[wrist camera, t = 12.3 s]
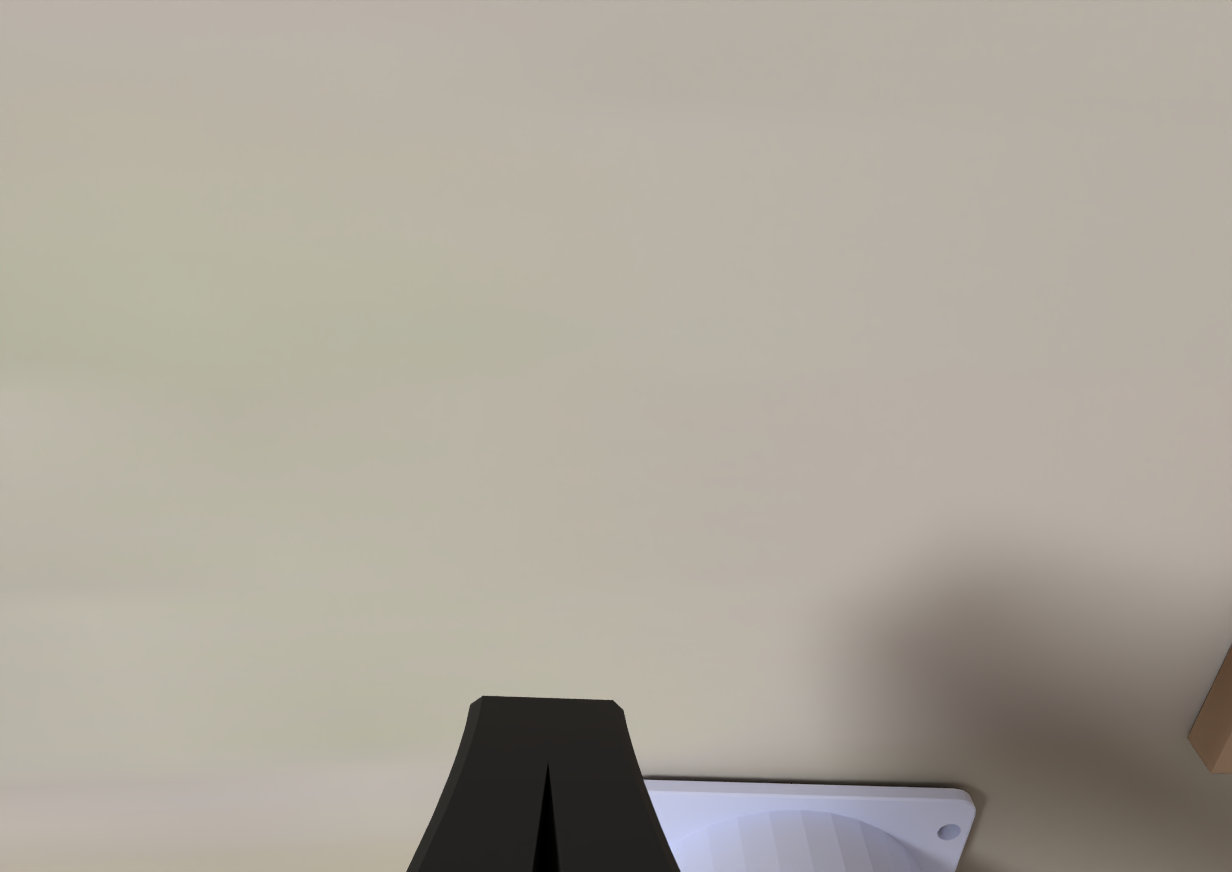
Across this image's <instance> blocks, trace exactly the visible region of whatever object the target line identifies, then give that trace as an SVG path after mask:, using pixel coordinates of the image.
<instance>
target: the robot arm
mask: <svg viewBox="0 0 1232 872" xmlns="http://www.w3.org/2000/svg"><path fill="white" fill-rule="evenodd" d="M975 815H976V808H975V806H974V804H973V801H972V799H971V797H970V795H969V794H968V793H967V792H965V791H963V790H960V789H954V788H921V787H886V786H850V785H815V784H779V783H744V782H708V781H673V780H643V777H642V774H641V771H640V768H639V765H638V762H637V759H636V756H635V753H634V750H633V746H632V743H631V739H630V736H629V732H628V728H627V724H626V720H625V715H624V711H623V709H622V708H621V707H620V706H618V705H617V704H616V703H615V702H614V701H613V700H591V699H561V698H532V697H502V696H482V697H481V698H479V699H478V700H476V701H475V702H473V703H472V704H471V705H470V708H469V713H468V717H467V722H466V726H465V730H464V733H463V736H462V740H461V743H460V746H459V749H458V752H457V755H456V758H455V761H454V764H453V766H452V769H451V772H450V774H449V777H448V780H447V782H446V785H445V787H444V789H443V792H442V794H441V797H440V799H439V802H438V804H437V806H436V809H435V811H434V814H433V816H432V818H431V821H430V823H429V825H428V827H427V829H426V831H425V833H424V835H423V838H422V840H421V842H420V844H419V846H418V848H417V850H416V852H415V855H414V857H413V859H412V861H411V863H410V865H409V867H408V869H407V871H406V872H955V871H956V868H957V865H958V862H959V860H960V857H961V854H962V851H963V849H964V846H965V843H966V840H967V838H968V835H969V832H970V829H971V827H972V824H973V821H974V818H975Z"/></svg>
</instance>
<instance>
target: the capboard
mask: <svg viewBox="0 0 1232 872" xmlns="http://www.w3.org/2000/svg"><path fill="white" fill-rule="evenodd" d="M1188 740H1189V741H1190V743H1191V744H1192V746H1193V747H1194V749H1195V750H1196V752H1197V753H1198V755H1199V756H1200V758H1201V759H1202V761H1203V762H1204V764H1205V765H1206V767H1207V768H1208V770H1209V771H1210V772H1211V773H1226V774H1232V646H1231V648H1230V650H1229V652H1228V654H1227V656H1226V658H1225V660H1224V662H1223V665H1222V667H1221V669H1220V671H1219V673H1218V675H1217V677H1216V679H1215V681H1214V683H1213V685H1212V688H1211V690H1210V692H1209V694H1208V696H1207V698H1206V700H1205V702H1204V704H1203V706H1202V709H1201V711H1200V713H1199V715H1198V717H1197V719H1196V721H1195V723H1194V725H1193V727H1192V729H1191V732H1190V734H1189V736H1188Z"/></svg>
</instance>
